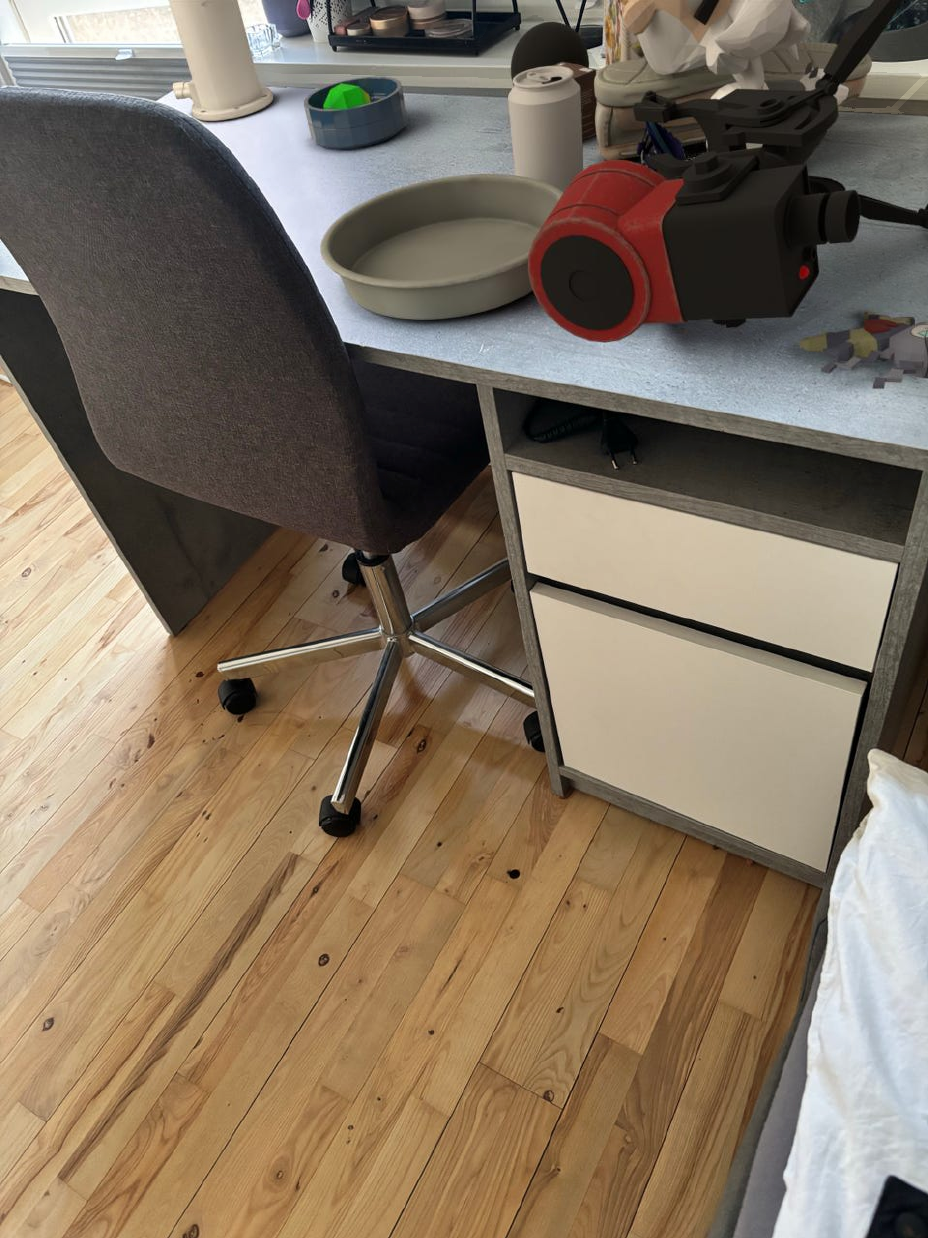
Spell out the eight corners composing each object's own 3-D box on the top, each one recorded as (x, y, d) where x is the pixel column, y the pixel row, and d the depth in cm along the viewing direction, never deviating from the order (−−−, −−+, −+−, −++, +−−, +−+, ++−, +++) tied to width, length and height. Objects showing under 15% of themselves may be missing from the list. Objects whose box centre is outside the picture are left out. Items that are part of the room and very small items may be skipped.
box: (529, 140, 115) (524, 75, 110) (565, 125, 117) (562, 60, 112) (562, 150, 111) (558, 82, 106) (599, 134, 113) (597, 67, 108)
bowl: (301, 154, 123) (290, 114, 119) (328, 119, 131) (319, 81, 128) (395, 147, 120) (388, 105, 116) (417, 112, 129) (411, 72, 125)
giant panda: (707, 188, 98) (712, 89, 91) (695, 168, 101) (699, 72, 95) (847, 166, 97) (863, 65, 90) (829, 147, 101) (844, 49, 94)
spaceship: (649, 167, 96) (631, 199, 101) (703, 166, 97) (682, 197, 102) (633, 106, 97) (616, 141, 102) (687, 106, 99) (667, 140, 104)
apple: (349, 134, 119) (397, 135, 126) (345, 78, 117) (394, 81, 123) (313, 138, 124) (361, 138, 130) (307, 83, 121) (357, 86, 127)
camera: (972, 227, 82) (869, 426, 69) (667, 251, 101) (539, 412, 87) (971, -108, 66) (837, 66, 53) (609, -6, 84) (440, 142, 71)
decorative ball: (605, 108, 119) (603, 18, 112) (538, 129, 117) (532, 40, 110) (564, 91, 126) (560, 6, 119) (501, 112, 124) (492, 26, 117)
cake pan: (567, 201, 99) (564, 157, 96) (585, 312, 82) (583, 263, 79) (343, 231, 101) (334, 189, 98) (316, 344, 84) (303, 298, 81)
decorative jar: (697, 95, 117) (704, -78, 105) (721, 125, 109) (733, -60, 96) (604, 111, 118) (599, -60, 105) (621, 142, 110) (619, -39, 97)
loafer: (858, 29, 102) (839, 118, 109) (590, 51, 104) (589, 137, 111) (885, 64, 95) (863, 156, 102) (597, 87, 97) (595, 176, 104)
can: (565, 210, 99) (558, 87, 90) (504, 204, 102) (492, 84, 93) (595, 182, 103) (592, 62, 94) (536, 177, 106) (528, 60, 98)
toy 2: (894, 278, 76) (1079, 304, 64) (890, 324, 78) (1069, 358, 66) (764, 332, 71) (940, 371, 59) (764, 380, 73) (933, 427, 61)
